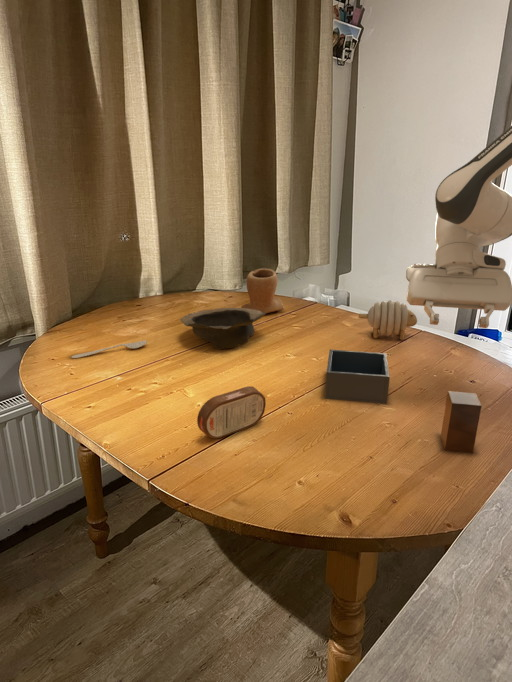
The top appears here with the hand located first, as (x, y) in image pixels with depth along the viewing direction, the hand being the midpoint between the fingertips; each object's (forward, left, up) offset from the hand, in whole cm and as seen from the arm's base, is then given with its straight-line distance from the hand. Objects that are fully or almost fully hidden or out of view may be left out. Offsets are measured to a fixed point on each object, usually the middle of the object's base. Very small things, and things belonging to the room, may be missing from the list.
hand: (458, 325), depth 100 cm
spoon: (+86, -19, -20) cm, 90 cm away
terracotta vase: (+50, -62, -20) cm, 82 cm away
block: (0, +12, -20) cm, 23 cm away
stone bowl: (+58, -35, -20) cm, 70 cm away
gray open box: (+19, -9, -20) cm, 29 cm away
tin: (+43, +15, -20) cm, 50 cm away
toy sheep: (+10, -46, -20) cm, 51 cm away
